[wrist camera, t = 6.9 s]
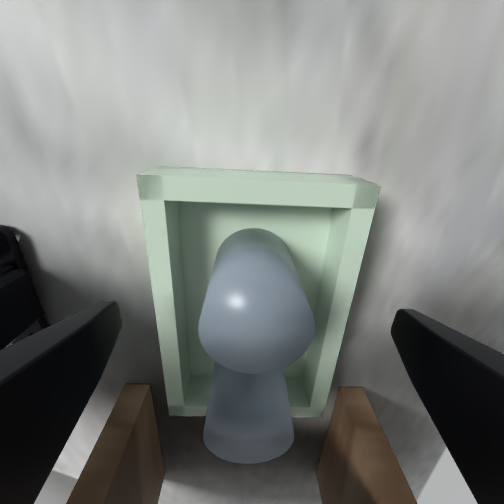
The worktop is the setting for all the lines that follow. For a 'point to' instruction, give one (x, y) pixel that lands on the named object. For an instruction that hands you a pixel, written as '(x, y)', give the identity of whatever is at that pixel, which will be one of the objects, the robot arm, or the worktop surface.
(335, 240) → the tray
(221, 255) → the grey rounded cylinder
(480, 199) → the worktop surface
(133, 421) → the shelf
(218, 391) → the grey smooth round-ended part
